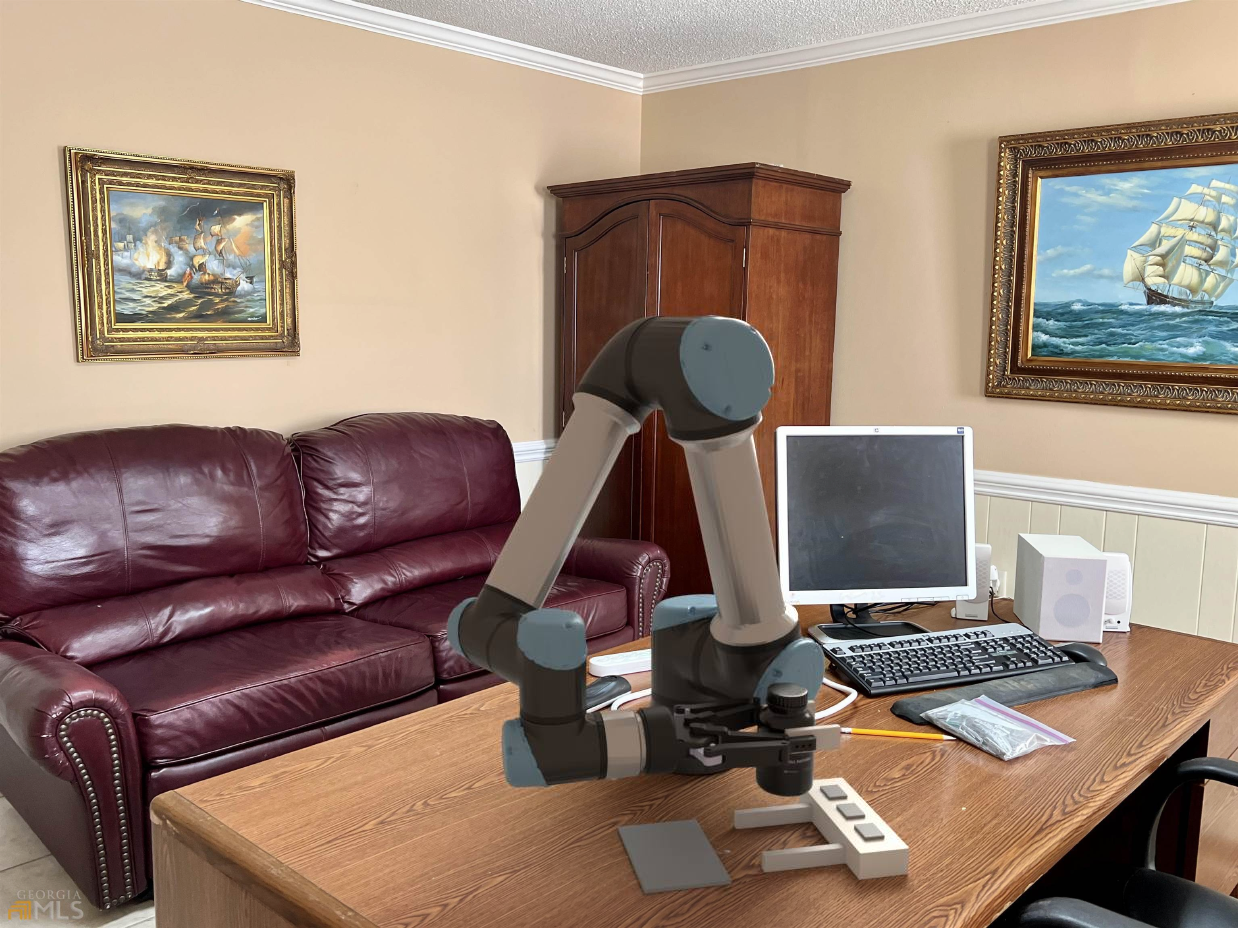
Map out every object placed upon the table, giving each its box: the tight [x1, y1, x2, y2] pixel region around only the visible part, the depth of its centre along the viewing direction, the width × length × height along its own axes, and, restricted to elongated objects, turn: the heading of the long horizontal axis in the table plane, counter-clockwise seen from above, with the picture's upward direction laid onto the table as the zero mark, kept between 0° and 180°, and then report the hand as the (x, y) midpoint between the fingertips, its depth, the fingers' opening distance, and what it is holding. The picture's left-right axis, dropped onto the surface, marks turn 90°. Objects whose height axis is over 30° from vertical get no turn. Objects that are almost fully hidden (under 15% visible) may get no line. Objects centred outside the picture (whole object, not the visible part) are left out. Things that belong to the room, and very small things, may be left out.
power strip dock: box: [733, 777, 910, 881], centre depth 121 cm, size 18×16×4 cm
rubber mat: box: [617, 818, 732, 895], centre depth 118 cm, size 14×10×1 cm
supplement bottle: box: [755, 683, 817, 798], centre depth 119 cm, size 7×7×12 cm
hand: (825, 723), depth 119 cm, fingers closed on supplement bottle, 7 cm apart
